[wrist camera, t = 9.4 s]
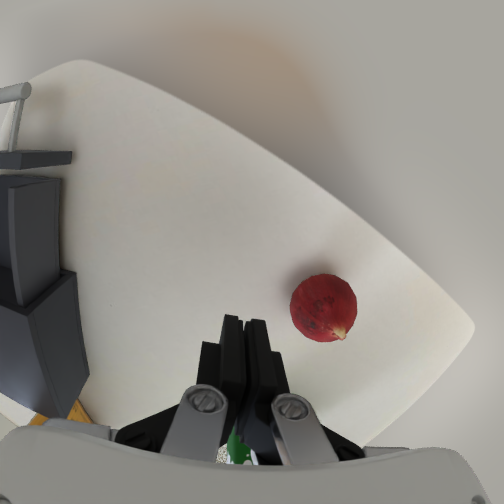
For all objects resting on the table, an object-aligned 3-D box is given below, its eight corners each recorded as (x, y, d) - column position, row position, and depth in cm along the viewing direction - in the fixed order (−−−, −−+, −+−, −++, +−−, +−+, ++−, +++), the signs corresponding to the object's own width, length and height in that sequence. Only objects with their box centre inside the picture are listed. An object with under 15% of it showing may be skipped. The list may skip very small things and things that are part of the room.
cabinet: (-4, 250, 23) (-52, 278, 14) (76, 272, 24) (27, 316, 16) (15, 345, 27) (-16, 382, 18) (90, 374, 29) (64, 425, 20)
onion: (278, 312, 27) (293, 364, 20) (290, 258, 25) (313, 298, 18) (332, 316, 28) (360, 364, 20) (346, 264, 26) (385, 303, 18)
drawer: (3, 99, 17) (-40, 94, 10) (84, 89, 18) (39, 71, 11) (-5, 264, 22) (-42, 288, 15) (68, 286, 24) (30, 323, 17)
